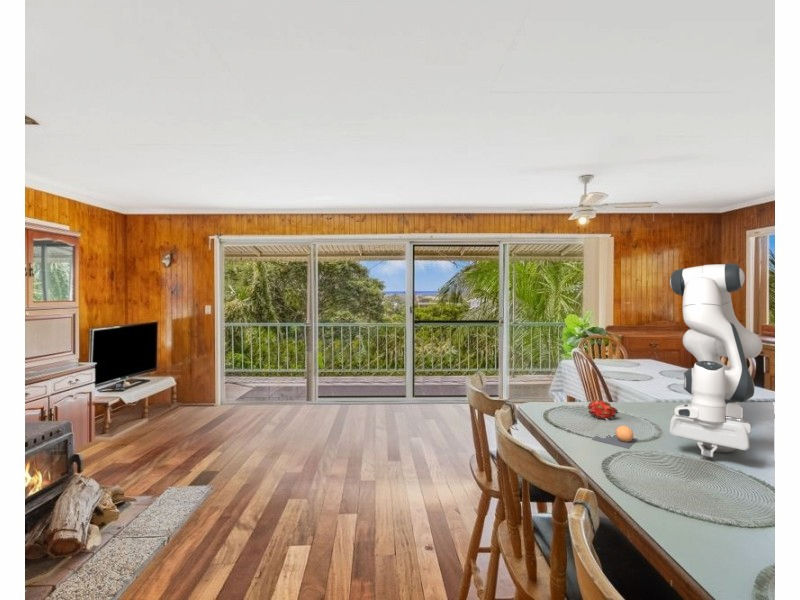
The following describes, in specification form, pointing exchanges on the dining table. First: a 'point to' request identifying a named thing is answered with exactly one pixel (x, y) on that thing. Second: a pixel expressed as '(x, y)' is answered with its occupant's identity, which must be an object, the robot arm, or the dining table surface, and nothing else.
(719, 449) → the teacup
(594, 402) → the dragon fruit
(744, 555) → the dining table surface
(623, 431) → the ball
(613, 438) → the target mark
